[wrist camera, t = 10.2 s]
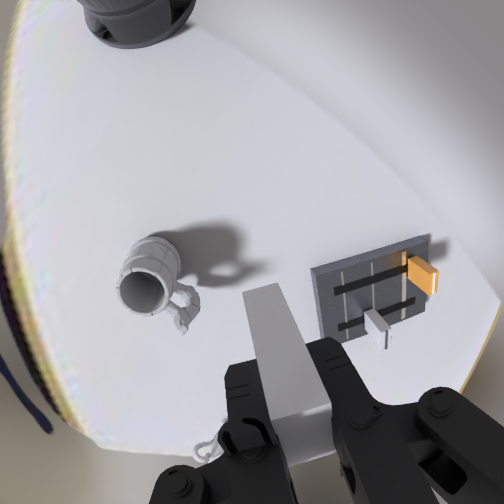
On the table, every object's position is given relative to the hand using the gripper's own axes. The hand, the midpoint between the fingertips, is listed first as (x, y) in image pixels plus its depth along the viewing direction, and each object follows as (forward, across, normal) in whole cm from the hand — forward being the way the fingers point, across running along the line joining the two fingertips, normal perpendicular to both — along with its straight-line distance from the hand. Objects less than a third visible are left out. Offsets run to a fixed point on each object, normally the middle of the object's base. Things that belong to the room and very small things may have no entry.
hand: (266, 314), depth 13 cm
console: (+29, +19, -21) cm, 41 cm away
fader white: (+27, +17, -25) cm, 40 cm away
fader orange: (+27, +25, -18) cm, 41 cm away
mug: (+30, -11, -8) cm, 33 cm away
